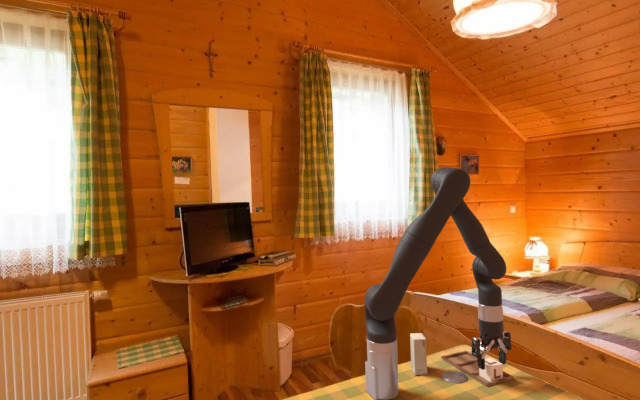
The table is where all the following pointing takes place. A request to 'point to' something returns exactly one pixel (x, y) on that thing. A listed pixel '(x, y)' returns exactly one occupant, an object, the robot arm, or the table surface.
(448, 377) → the slate coaster
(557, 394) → the table surface
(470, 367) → the tray
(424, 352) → the skincare box
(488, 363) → the letter cube
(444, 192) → the robot arm
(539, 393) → the table surface
